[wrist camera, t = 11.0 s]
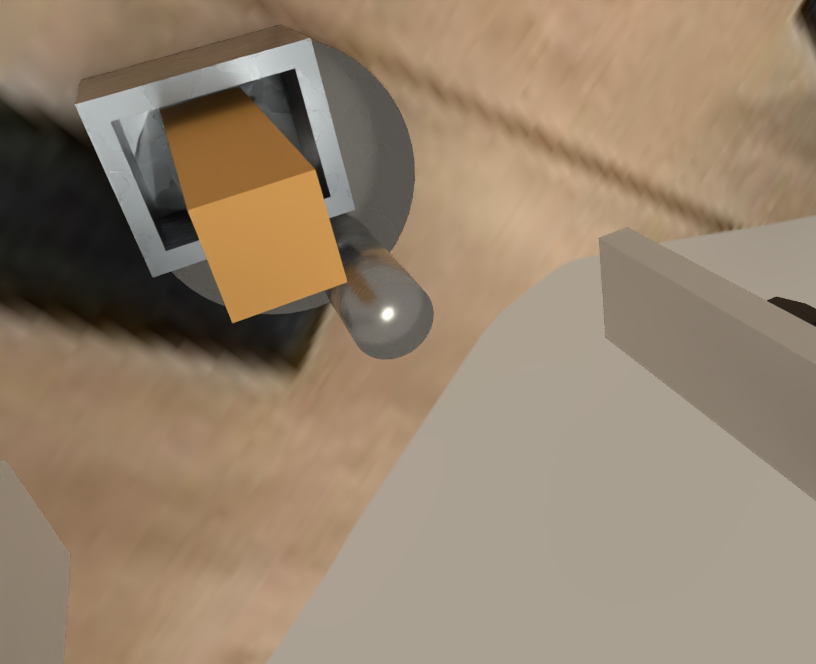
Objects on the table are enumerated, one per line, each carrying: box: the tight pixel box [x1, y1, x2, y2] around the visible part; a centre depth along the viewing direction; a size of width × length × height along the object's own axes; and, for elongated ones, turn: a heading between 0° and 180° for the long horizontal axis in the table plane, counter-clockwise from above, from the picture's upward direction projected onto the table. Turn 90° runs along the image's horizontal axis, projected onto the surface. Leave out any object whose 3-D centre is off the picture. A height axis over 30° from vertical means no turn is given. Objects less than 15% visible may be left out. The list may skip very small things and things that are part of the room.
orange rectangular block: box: [159, 87, 347, 323], centre depth 29 cm, size 4×4×16 cm
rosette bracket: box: [75, 25, 433, 359], centre depth 35 cm, size 15×15×11 cm
